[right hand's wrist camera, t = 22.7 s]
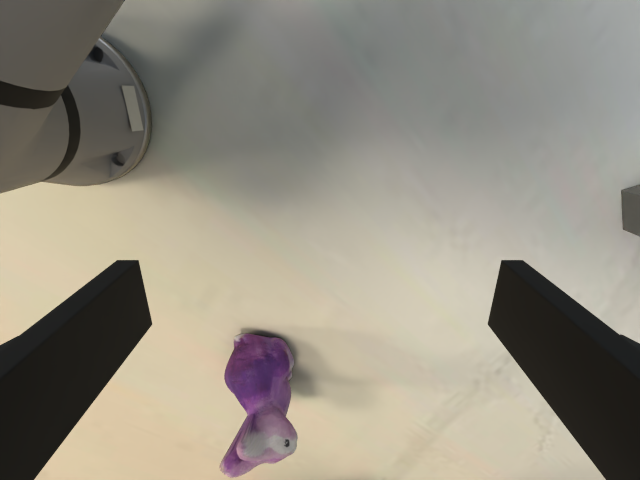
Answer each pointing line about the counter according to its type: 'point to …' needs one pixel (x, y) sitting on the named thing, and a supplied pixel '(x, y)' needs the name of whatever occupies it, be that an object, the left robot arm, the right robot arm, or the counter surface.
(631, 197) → the slate cube
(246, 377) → the figurine
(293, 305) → the counter surface
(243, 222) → the counter surface
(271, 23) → the counter surface
